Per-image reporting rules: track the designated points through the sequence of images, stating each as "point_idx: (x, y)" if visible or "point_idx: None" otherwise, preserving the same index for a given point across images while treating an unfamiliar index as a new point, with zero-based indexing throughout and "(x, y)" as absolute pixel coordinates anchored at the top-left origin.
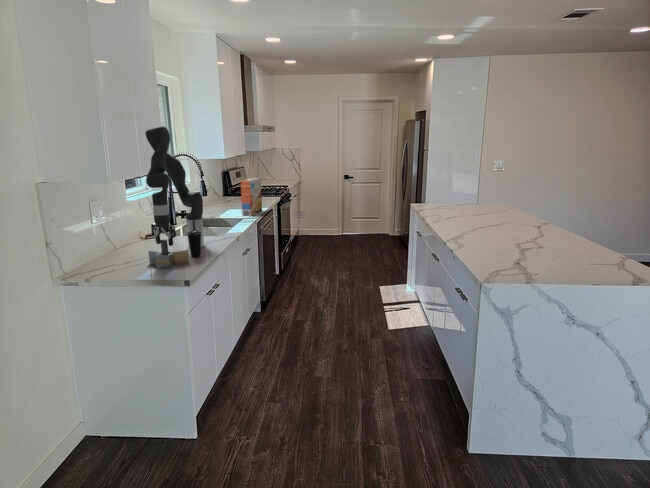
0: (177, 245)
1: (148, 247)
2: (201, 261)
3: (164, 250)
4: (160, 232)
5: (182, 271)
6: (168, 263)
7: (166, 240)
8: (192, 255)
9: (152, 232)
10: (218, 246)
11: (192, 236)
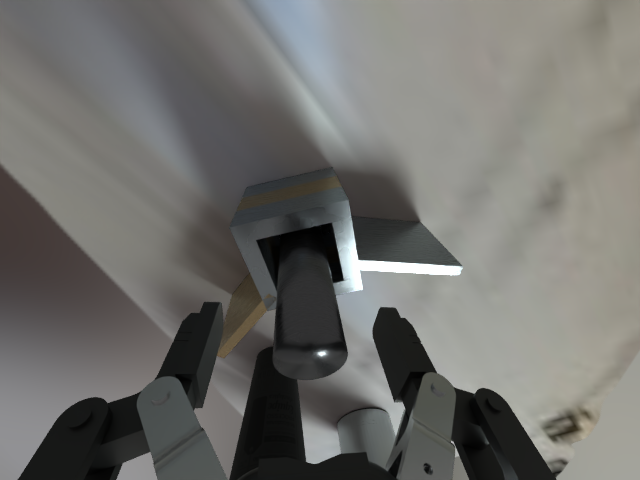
0: None
1: (530, 370)
2: None
3: (289, 263)
4: (351, 470)
5: (121, 165)
6: (248, 198)
7: (273, 359)
8: None
9: (512, 437)
10: None
11: None
